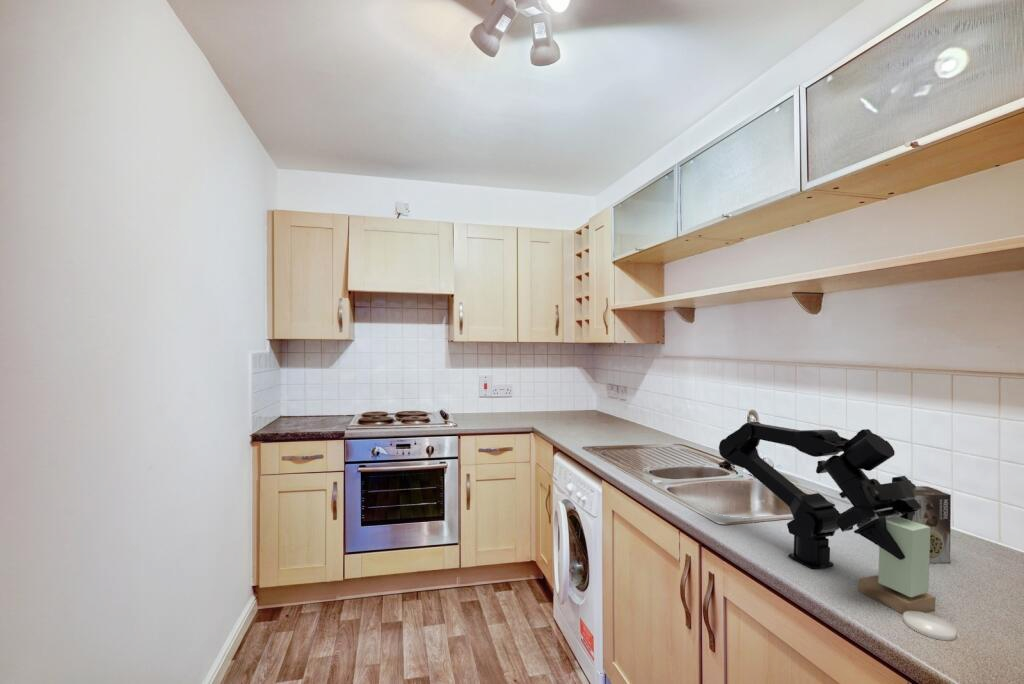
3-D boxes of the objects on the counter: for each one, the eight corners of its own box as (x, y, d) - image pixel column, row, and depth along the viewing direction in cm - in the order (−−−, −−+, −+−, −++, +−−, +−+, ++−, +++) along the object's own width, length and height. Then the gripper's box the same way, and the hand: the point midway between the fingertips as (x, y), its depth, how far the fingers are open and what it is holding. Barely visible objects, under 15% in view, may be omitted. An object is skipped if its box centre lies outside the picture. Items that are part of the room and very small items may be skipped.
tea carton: (878, 582, 91) (880, 519, 91) (895, 577, 93) (897, 516, 93) (910, 597, 86) (912, 530, 86) (928, 592, 88) (930, 526, 88)
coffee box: (925, 551, 114) (927, 485, 114) (951, 563, 107) (953, 494, 107) (889, 550, 113) (891, 485, 113) (913, 563, 107) (914, 494, 107)
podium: (858, 590, 94) (858, 578, 94) (884, 585, 97) (885, 574, 97) (907, 616, 86) (907, 603, 86) (935, 610, 88) (935, 597, 88)
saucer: (893, 619, 85) (893, 613, 85) (920, 613, 87) (920, 608, 87) (938, 643, 78) (938, 637, 78) (966, 636, 80) (966, 630, 80)
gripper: (853, 466, 90) (919, 546, 80) (911, 458, 97) (979, 532, 86) (812, 493, 97) (868, 570, 87) (869, 484, 104) (927, 555, 94)
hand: (912, 556), depth 88 cm, fingers closed on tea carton, 5 cm apart
